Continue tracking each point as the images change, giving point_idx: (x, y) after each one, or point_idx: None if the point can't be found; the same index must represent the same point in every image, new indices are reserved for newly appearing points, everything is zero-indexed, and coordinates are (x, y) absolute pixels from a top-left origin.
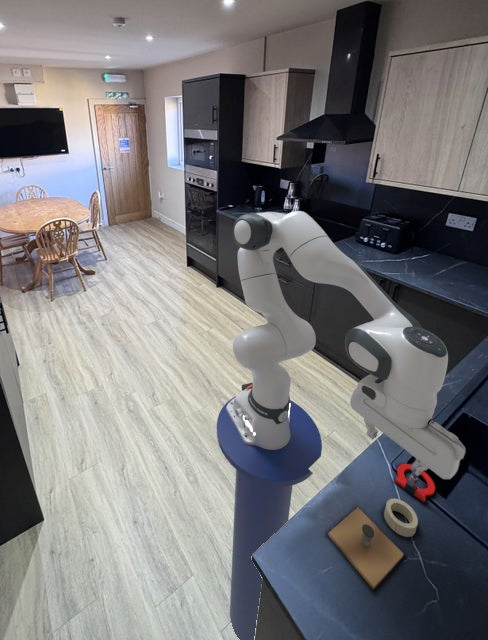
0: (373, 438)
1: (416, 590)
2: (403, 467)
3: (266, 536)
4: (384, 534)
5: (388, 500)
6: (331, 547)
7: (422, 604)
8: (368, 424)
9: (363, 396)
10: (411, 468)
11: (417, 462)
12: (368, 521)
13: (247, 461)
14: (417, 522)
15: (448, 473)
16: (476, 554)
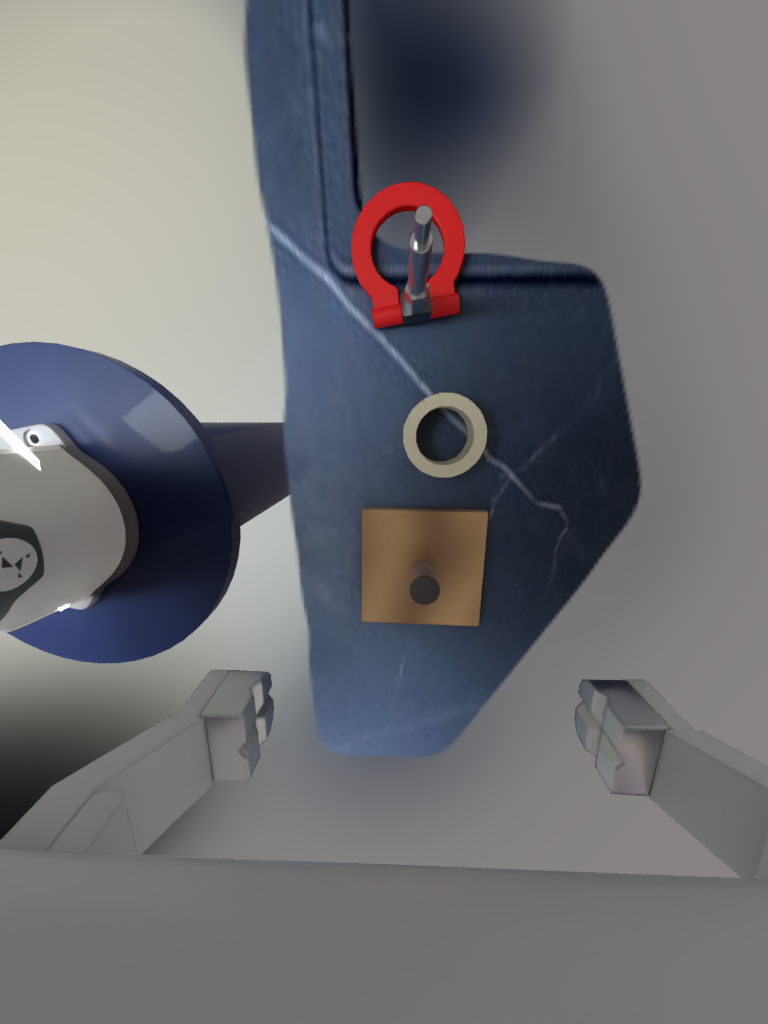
0: (271, 711)
1: (532, 546)
2: (362, 244)
3: (275, 498)
4: (438, 512)
5: (403, 436)
6: (382, 628)
7: (549, 559)
8: (142, 845)
9: None
10: (595, 756)
11: (641, 740)
12: (398, 519)
13: (138, 634)
14: (484, 422)
15: None
16: (602, 330)
